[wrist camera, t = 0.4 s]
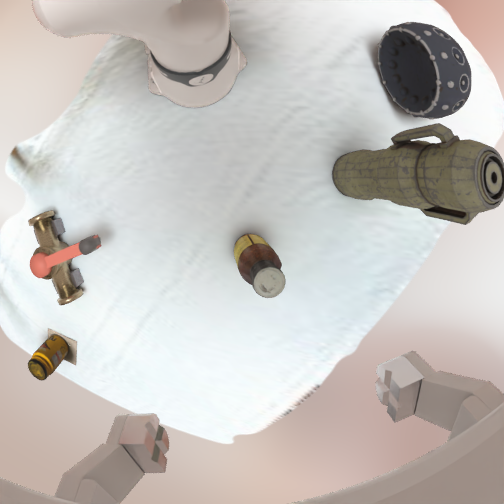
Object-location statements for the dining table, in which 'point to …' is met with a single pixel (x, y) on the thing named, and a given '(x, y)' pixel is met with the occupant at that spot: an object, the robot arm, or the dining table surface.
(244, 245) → the sauce bottle
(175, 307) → the dining table surface
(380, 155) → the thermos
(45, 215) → the valve body
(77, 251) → the lever
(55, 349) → the condiment
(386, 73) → the ring
